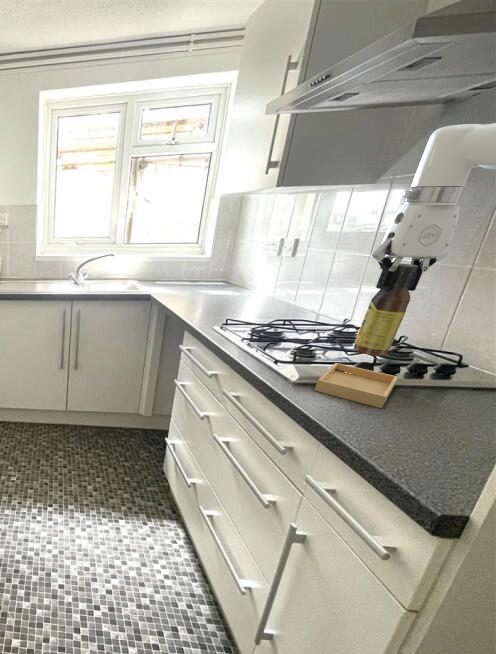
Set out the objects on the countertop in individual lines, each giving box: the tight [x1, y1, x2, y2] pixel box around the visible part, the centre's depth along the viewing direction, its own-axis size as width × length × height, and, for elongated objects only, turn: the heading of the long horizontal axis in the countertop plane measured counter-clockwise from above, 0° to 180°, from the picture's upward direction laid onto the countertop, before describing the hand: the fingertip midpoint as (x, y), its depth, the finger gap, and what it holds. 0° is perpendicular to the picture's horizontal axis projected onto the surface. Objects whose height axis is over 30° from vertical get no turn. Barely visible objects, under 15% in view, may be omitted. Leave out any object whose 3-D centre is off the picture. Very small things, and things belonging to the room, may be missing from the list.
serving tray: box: [314, 362, 399, 409], centre depth 99 cm, size 17×12×3 cm
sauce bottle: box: [353, 263, 418, 357], centre depth 92 cm, size 6×6×20 cm
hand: (395, 288), depth 90 cm, fingers closed on sauce bottle, 4 cm apart
